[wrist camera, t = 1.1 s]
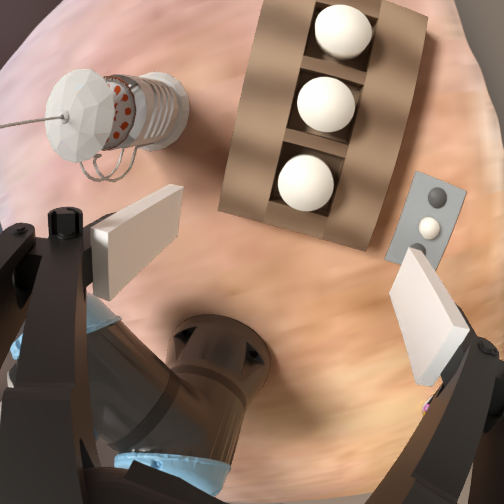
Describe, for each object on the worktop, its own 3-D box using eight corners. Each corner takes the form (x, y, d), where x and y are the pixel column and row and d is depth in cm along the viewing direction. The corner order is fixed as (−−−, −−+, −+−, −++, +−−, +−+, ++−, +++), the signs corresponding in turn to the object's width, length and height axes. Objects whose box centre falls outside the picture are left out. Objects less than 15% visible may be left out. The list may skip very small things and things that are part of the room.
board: (361, 239, 35) (365, 251, 32) (226, 202, 37) (217, 210, 33) (418, 25, 24) (428, 17, 21) (274, -13, 26) (270, -26, 22)
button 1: (324, 208, 32) (325, 217, 29) (276, 195, 32) (272, 203, 29) (337, 161, 30) (340, 165, 27) (288, 147, 30) (285, 150, 27)
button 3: (361, 66, 26) (366, 60, 23) (310, 52, 26) (310, 45, 23) (370, 23, 23) (375, 13, 20) (320, 9, 24) (320, -1, 21)
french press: (192, 69, 31) (11, 28, 9) (188, 167, 36) (19, 254, 13) (119, 75, 32) (-62, 75, 10) (117, 164, 37) (-52, 235, 15)
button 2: (344, 137, 29) (347, 139, 26) (293, 123, 29) (291, 123, 26) (355, 89, 27) (360, 86, 24) (305, 75, 27) (304, 70, 24)
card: (432, 273, 35) (436, 279, 34) (384, 258, 36) (386, 264, 34) (465, 190, 30) (470, 194, 29) (415, 170, 31) (419, 172, 30)
